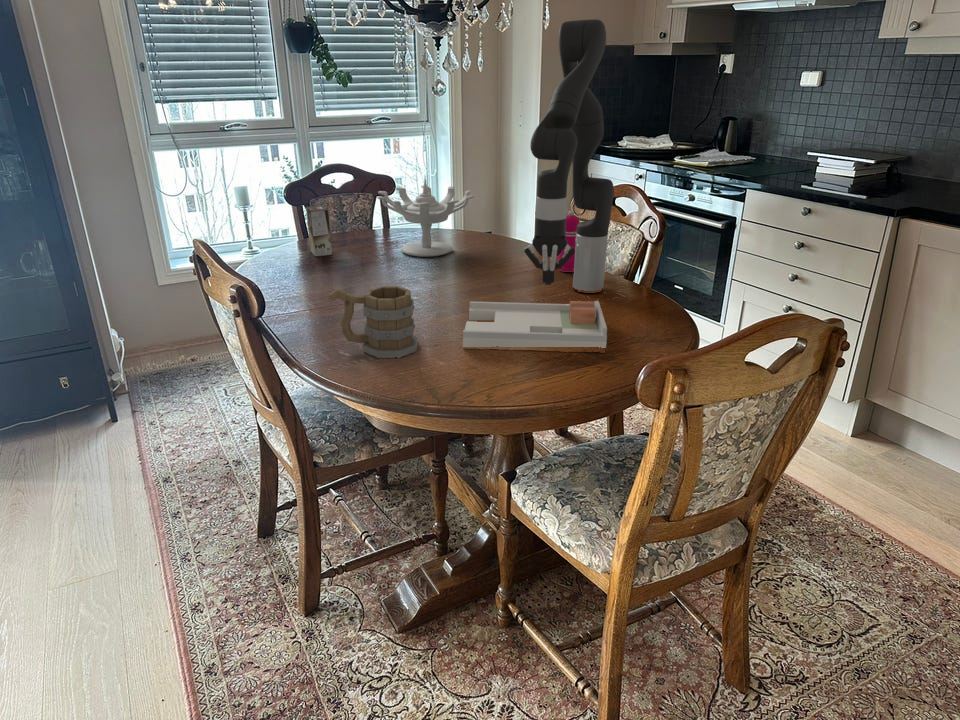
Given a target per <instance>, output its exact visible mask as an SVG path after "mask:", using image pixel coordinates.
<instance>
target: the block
mask: <svg viewBox="0 0 960 720" xmlns="http://www.w3.org/2000/svg"><path fill="white" fill-rule="evenodd" d="M569 304H570V310H569V318H570V324H589V325H594V323H595V312H596V309H595V305H594V304H595V301H582V300H581V301H580V300H579V301H577V300H576V301H575V300H570V301H569Z"/></svg>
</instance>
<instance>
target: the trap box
mask: <svg viewBox="0 0 960 720" xmlns="http://www.w3.org/2000/svg"><path fill="white" fill-rule="evenodd" d="M594 305H595V309H596V312H595V323H594V325H589V324H570V318H569V310H570V303H538V302H537V303H535V302H508V301H507V302H506V301H505V302H504V301H503V302H501V301H497V302H496V301H469V309H468V320H467V321H466V323H465V327H464V329H463V330H462V348H463V347H492V346H493V347H496V346H499V347H599V348H600V347H601V348H606V349H607V343H608V342H607V341H608V327H607V324H606V323H607V322H606V321H605V320H606V319H605V317H604V314H603V311H602V307H601V305H600V302H599V300H594ZM469 320H494V322H477V321H469Z"/></svg>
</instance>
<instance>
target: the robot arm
mask: <svg viewBox="0 0 960 720" xmlns="http://www.w3.org/2000/svg"><path fill="white" fill-rule="evenodd" d="M557 36H558V38H557V41H558V43H557V44H558V52H559V53H558V54H559V58H560V64H561V65H560V66H561V70H562V74H563V75H562V76H563V79H562V80H561V81H560V82H559V84H558V85H557V87H555V89H554V92H553V93H552V96H551V99H550V100H551V101H550V103H549V107H548V110H547V112H546V114H545V115H544V117H543V118H542V120H541V121H540V122H539V124H538V125H537V126H536V127H535V130H534V132H533V133H532V136H531V139H530V146H529V147H530V151H531V154H532V156H533V157H535V158H536V159H538V160H543V161H544V160H545V161H558V164H557V166H556V168H553V169H552V168H550V169H545V170H542V171H540V172H539V173H538V174H537V184H536V185H537V189H536V201H535V211H534V237H533V238H532V240H531V241H532V242H531V243H530V244H529V245H526V246H524V249H523V250H524V253H525V255H526V256H527V257H528V259H529V260H530V262H531V263H532V264H533V265H534V266H535V267H536V269H540V270H542V282H543V283H544V284H545V286H551V285H552V283H554V282H555V271H556V270H558V269H560V268H562V267H563V265H564V264H565V263H566V262H567V261H568V260H569V259H570V257H571V256H572V255H573V254H574V253H575V262H574V273H573V277H572V278H573V279H572V288H573V287H574V288H575V289H578V290H584V291H595V290H599V289H602V288H603V289H604V281H605V274H606V272H605V271H606V261H607V250H608V239H609V238H608V237H609V230H610V228H609V227H610V225H611V216H612V209H613V201H614V194H615V193H614V192H615V190H614V189H615V188H614V183H613V181H612V180H611V179H609V178H601V177H592V176H591V177H590V175H589V164H590V161H591V159H592V157H593V155H594V154H595V153H596V151H597V149H598V147H599V146H600V144H601V141H602V140H603V138H604V135H605V133H604V131H605V130H604V128H605V127H604V113H603V108H602V105H601V104H600V102H599V100H598V99H597V97H596V95H595V94H594V93H593V92H592V90H591V89H590V88H589V85H590V83H591V80H592V79H593V77H594V75H595V73H596V71H597V69H598V67H599V65H600V62H601V60H602V58H603V57H604V56H603V55H604V53H605V49H606V45H607V30H606V27H605V23H604V22H603V21H602V20H600V19H592V18H591V19H579V20H578V19H577V20H568V21H564V22H563V23H562V24H561V25H560V26H559V31H558V35H557ZM571 165H572V197H573V203H574V206H575V207H576V208H577V209H580V210H585V211H592V212H593V211H594V212H595V215H594V217H593V218H591V219H587V220H584V221H580V223H579V224H578V225H577V232H576V248H575V250H574V247H571V246H569V245H568V244H567V240H566V237H565V235H566V216H568V203H567V202H568V201H567V196H568V194H567V193H568V179H569V173H570V170H571ZM564 248H565V250H564V252H565V254H564V255H563V256H562V257H561V258H560V260H559V261H558V260H557V257H558V255H559V254H560V253H561V252H562V250H563V249H564ZM535 250H536V252H537V253H538V255H539V256H540V257H542V258H541V259H542V262H541V261H540V260H539V258H538V257H537V256H536V255H535ZM549 257H550V258H549ZM548 258H549V259H548ZM548 260H549V261H548ZM556 261H557V262H556ZM548 263H549V265H548Z"/></svg>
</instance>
